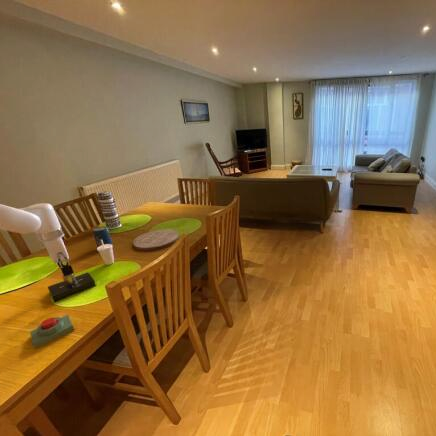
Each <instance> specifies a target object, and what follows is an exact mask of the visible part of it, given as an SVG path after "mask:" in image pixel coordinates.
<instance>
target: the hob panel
mask: <svg viewBox="0 0 436 436" xmlns="http://www.w3.org/2000/svg"><path fill="white" fill-rule="evenodd" d="M75 279H76V281H77V282H76V283H75V284H74V285H71V286H66V284H65V282H64V280H63V281H60V282H57V283H54V284H51V285H49V286H47V289H48V291H49V294H50V296H51V298H52V300H53V303H58V302H60V301H63V300H65V299H67V298H69V297H70V298H71V297H72V296H74V295H77V294H80V293H82V292H84V290H85V291H87V290H89V289H92V288H94V287H97V284H96V281H95V279H94V278H93V277H92V275H91V274H90V273H89V271H87V272H84V273H82V274H78V275H76V276H75Z"/></svg>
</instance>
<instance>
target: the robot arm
mask: <svg viewBox="0 0 436 436" xmlns="http://www.w3.org/2000/svg"><path fill="white" fill-rule="evenodd" d="M0 230H2V231H6V232H11V233H16V234H23V235H28V234H33V233H35V235H36V237H37V239H38V242H41V243H43V244H44V247H45V249H46V252H47V254H48V255H49V258H50V260H51V262H52V264H55V265H56V264H57V266H58V268H60V271H61V273H62V276H63V275H64V276H67V275H69V274H72V273H73V274H74V273H75V271H74V270H73V267H72V265H71V263H70V262H69V259H70V257H69V253H68V251H67V247H66V245H65V243H64V240H63V237H64V236H65V232H64V229H63V228H62V225H61V223H60V220H59V218H58V216H57V214H56V211H55V209H54V206H53V205H52V204H51V203H48V202H47V203H46V202H41V203H35V204H32V205H29V206H26V207H19V208H16V207H12V206H9V205H5V204H1V203H0Z"/></svg>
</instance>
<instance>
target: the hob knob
mask: <svg viewBox="0 0 436 436" xmlns="http://www.w3.org/2000/svg"><path fill="white" fill-rule="evenodd" d="M75 277H76V276H75V274H74V273H72V274H69V275H67V276H64V275H63V274H62V276H61V278H62V280H63V281H64V282H65V284H66V286H71V285H74V284H75V283H76V282H77V281H76V279H75Z"/></svg>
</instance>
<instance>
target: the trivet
mask: <svg viewBox="0 0 436 436" xmlns="http://www.w3.org/2000/svg"><path fill="white" fill-rule="evenodd" d="M178 238H179V239H180V232H179V231H178V230H175V229H171V228H169V229H167V228H164V229H163V228H162V229H157V230H151V231H148V232H145V233H142V234H141V235H139V236H137V237H136V238H134V240H133V243H132V244H133V247H134V249H136V250H138V251H145V252H146V251H147V252H149V251H157V250H161V249H165V248H168V247H170V246H173V245H174V244H175V243H177V242H178V241H177V239H178ZM179 239H178V240H179ZM176 241H177V242H176Z"/></svg>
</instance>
